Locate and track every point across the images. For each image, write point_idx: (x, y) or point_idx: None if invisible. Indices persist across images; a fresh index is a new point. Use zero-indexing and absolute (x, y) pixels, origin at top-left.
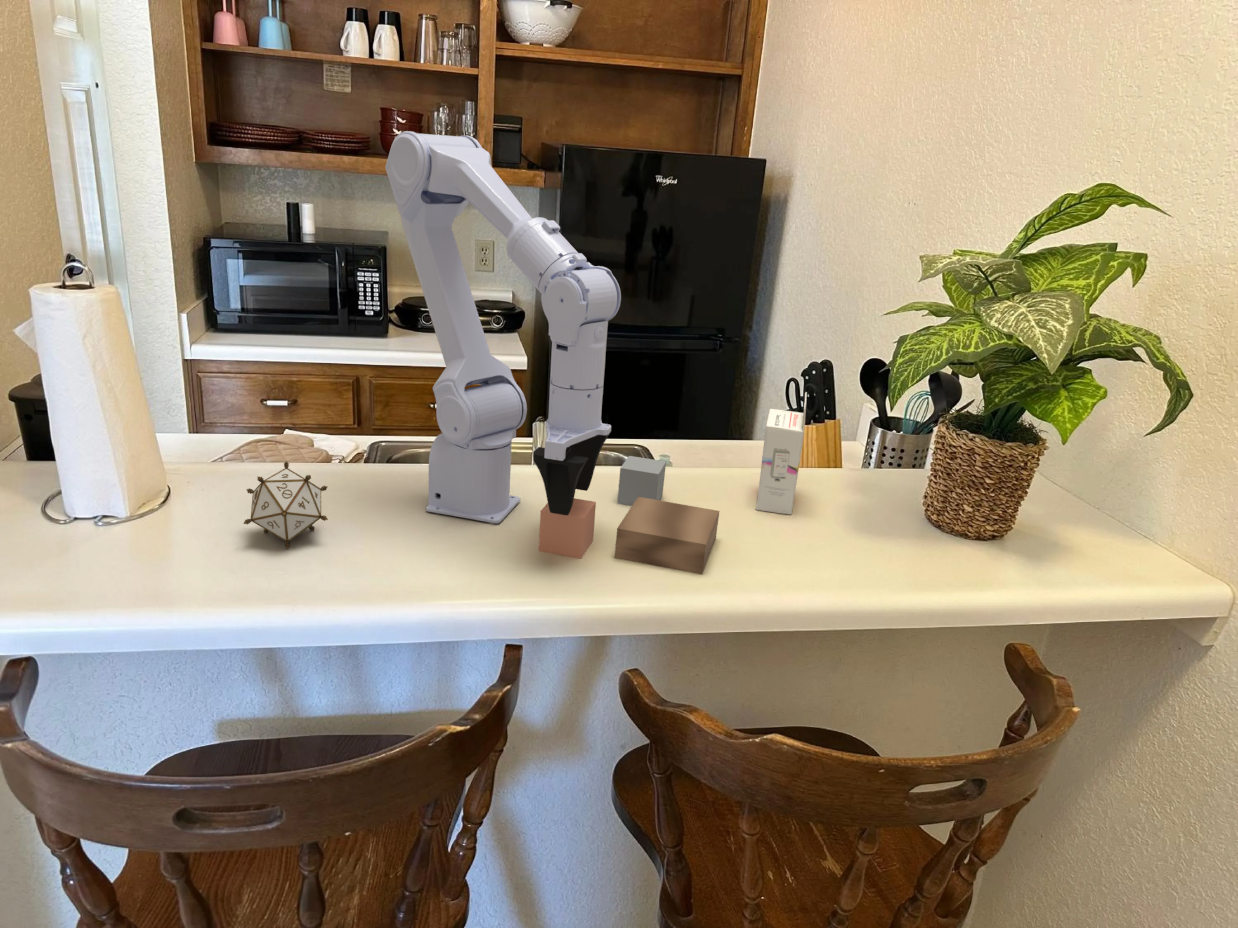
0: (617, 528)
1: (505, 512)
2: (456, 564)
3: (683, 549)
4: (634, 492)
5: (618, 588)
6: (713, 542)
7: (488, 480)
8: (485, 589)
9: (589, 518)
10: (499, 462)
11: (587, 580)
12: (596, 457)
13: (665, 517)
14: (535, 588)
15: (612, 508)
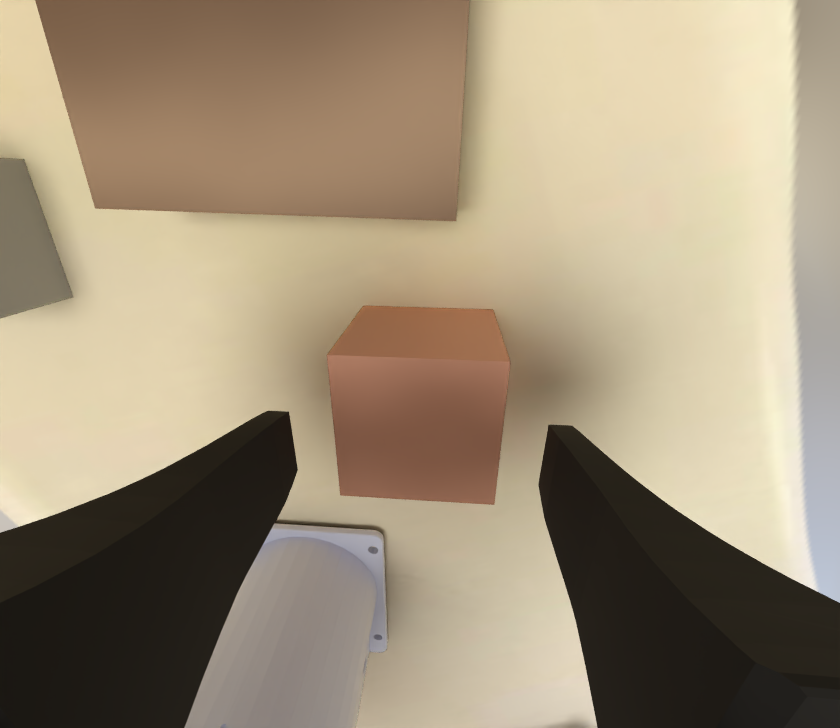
0: (454, 219)
1: (330, 534)
2: None
3: None
4: (2, 250)
5: (673, 145)
6: None
7: (339, 654)
8: (719, 475)
9: (422, 344)
10: (295, 699)
11: (631, 258)
12: (171, 496)
13: (233, 6)
14: (702, 378)
15: (117, 302)
